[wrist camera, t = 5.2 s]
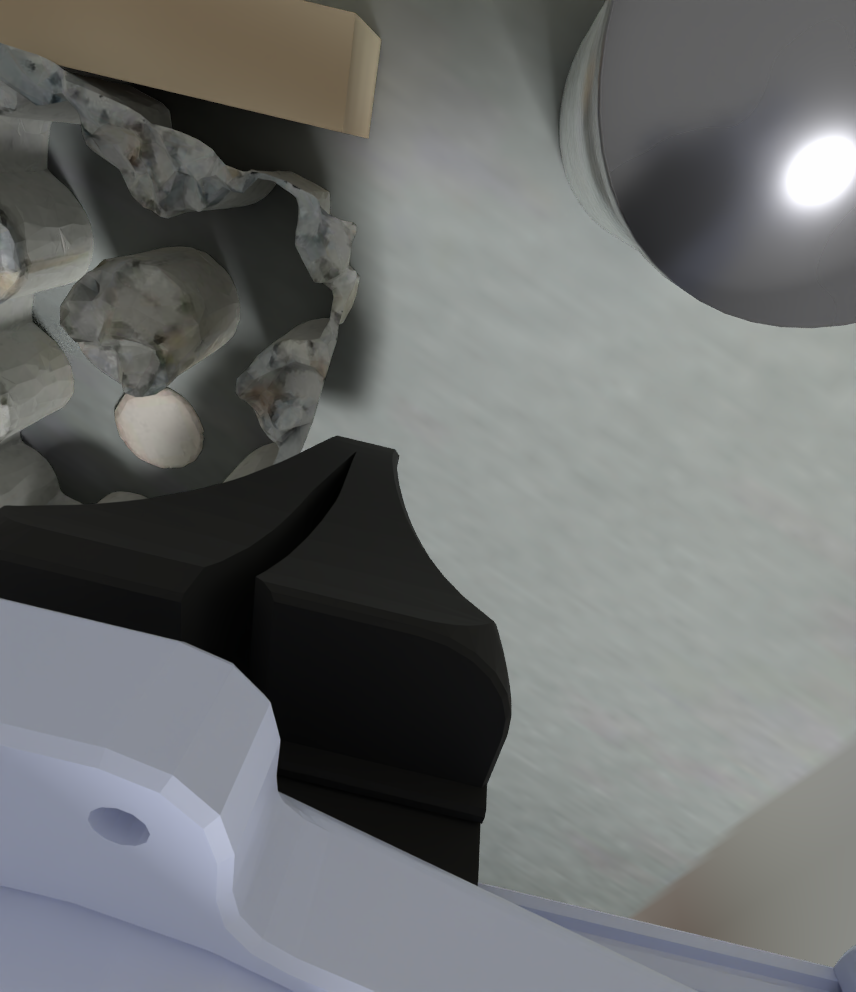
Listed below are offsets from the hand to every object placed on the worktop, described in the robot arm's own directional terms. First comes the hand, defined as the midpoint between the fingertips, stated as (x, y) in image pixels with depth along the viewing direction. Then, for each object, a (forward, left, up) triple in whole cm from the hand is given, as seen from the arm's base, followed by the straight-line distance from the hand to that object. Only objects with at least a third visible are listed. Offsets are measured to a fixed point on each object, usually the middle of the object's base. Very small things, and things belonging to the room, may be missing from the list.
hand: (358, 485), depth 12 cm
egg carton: (+1, +5, -3) cm, 6 cm away
